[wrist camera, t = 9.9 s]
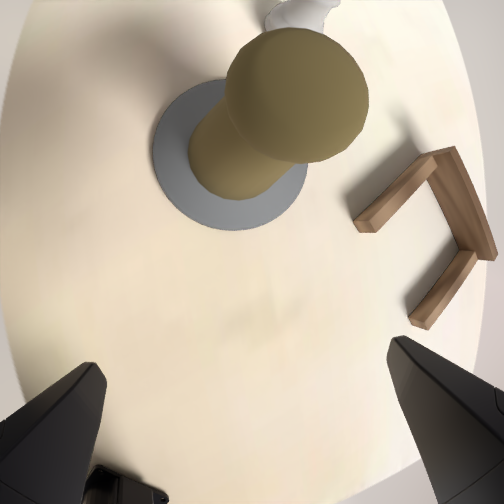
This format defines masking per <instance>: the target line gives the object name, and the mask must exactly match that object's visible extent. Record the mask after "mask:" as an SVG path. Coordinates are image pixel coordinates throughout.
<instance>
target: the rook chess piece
mask: <svg viewBox="0 0 504 504" xmlns="http://www.w3.org/2000/svg"><path fill="white" fill-rule="evenodd" d="M339 4H340V0H288V1H285V2H284V3H280V4H278V5H276V6H275V7H274V8H273V9H272V10H271V11H270V13H269V14H268V15H267V16H266V19H265V24H264V25H265V28H266V31H271V30H275V29H279V28H286V27H294V28H307V29H310V30H313V31H316V32H319V33H322V34H323V28H324V19H325V18H326V16H327V14H328V13H329V11H330V10H331V9H332V8H334V7H338V6H339Z"/></svg>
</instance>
